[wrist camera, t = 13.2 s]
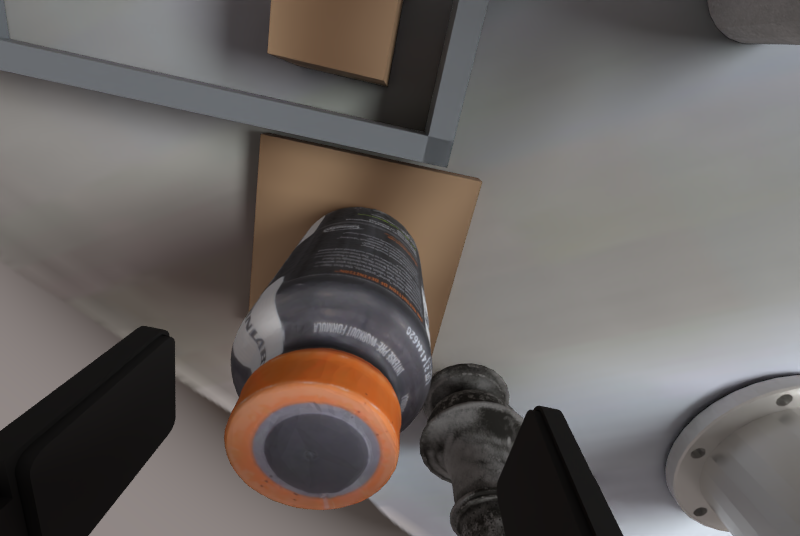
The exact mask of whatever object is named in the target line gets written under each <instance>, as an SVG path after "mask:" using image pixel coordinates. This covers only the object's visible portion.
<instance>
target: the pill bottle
mask: <svg viewBox="0 0 800 536" xmlns="http://www.w3.org/2000/svg"><path fill="white" fill-rule="evenodd" d="M231 371H232V378H233V382H234V386H235V389H236V392H237V394H238V396H239V399H238V401H237V403H236V405H235V407H234V409H233V411H232V413H231V415H230V417H229V420H228V423H227V425H226V428H225V435H224V441H225V449H226V453H227V456H228V459H229V461H230V464H231V465H232V467H233V469H234V470H235V471H236V473H237V474H238V475H239V477H240V478H241V479H242V480H243V481H244V482H245V483H246V484H247V485H248V486H249V487H251V488H252V489H254V490H256V491H257V492H258V493H260V494H262V495H264V496H266V497H267V498H269V499H271V500H273V501H276V502H279V503H282V504H285V505H288V506H292V507H296V508H303V509H312V510H328V509H337V508H342V507H346V506H349V505H352V504H356V503H359V502H361V501H363V500H365V499H367V498H369V497H370V496H372V495H373V494H374V493H376V492H378V491H379V490H380V489H381V488H382V487H383V486H384V485H385V484H386V483H387V481H388V480H389V479H390V477H391V475H392V474H393V472H394V470H395V469H396V465H397V461H398V456H399V440H400V433H401V432H402V431H403V430H404V429H405V428H406V427H407V426H408V425H409V424H410V423H411V422H412V421H413V420H414V418H415V417H416V416H417V414H418V413H419V411H420V410H421V408H422V407H423V404H424V402H425V401H426V398H427V395H428V392H429V389H430V385H431V379H432V356H431V346H430V332H429V320H428V313H427V306H426V299H425V293H424V285H423V277H422V269H421V262H420V257H419V252H418V249H417V246H416V244H415V241H414V239H413V238H412V236H411V235H410V234H409V232H408V231H407V230H406V228H405V227H404V226H403V225H402V224H401V223H399V222H398V221H397V220H396V219H394V218H393V217H391V216H390V215H388V214H386V213H384V212H381V211H379V210H376V209H370V208H364V207H348V208H342V209H338V210H335V211H332V212H330V213H328V214H326V215H325V216H323V217H322V218H320V219H319V220H318V221H317V222H316V223H314V224H313V225H312V226H311V227H310V229H309V230H308V231H307V232H306V234H305V235H304V237H303V238H302V239H301V241H300V242H299V244H298V245H297V246H296V248H295V249H294V250H293V252H292V253H291V254H290V256H289V257H288V259H287V260H286V261H285V263H284V264H283V266H282V267H281V268H280V270H279V271H278V273H277V274H276V275H275V277H274V278H273V279H272V281H271V282H270V283H269V285H268V286H267V287H266V288H265V290H264V291H263V293H262V294H261V295H260V297H259V299H258V300H257V302H256V303H255V304H254V306H253V307H252V308H251V310H250V311H249V313H248V314H247V316H246V317H245V319H244V320H243V322H242V324H241V326H240V328H239V330H238V332H237V335H236V337H235V341H234V343H233V347H232V353H231Z"/></svg>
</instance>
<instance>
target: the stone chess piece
mask: <svg viewBox="0 0 800 536" xmlns="http://www.w3.org/2000/svg"><path fill="white" fill-rule="evenodd" d="M508 404H509V392H508V388H507V385H506V383H505V382H504V380H503V379H502V377H501V376H500V375H498V374H497V373H496V372H495V371H494V370H492V369H489V368H487V367H485V366H482V365H477V364H459V365H455V366H451V367H448V368H446V369H444V370H442V371H440V372H438V373H437V374H436V375H435V376H434V377H432V379H431V385H430V389H429V392H428V395H427V398H426V401H425V402H424V404H423V409H424V412H425V414H426V416H427V417H428V418H429V419H428V421H427V424H426V427H425V428H424V430H423V433H422V436H421V439H420V454H421V456H422V459H423V462H424V464H425V465H426V466H427V467H428V469H429V470H430V471H431V472H432V473H434V474H435V475H436V476H438V477H439V478H441V479H442V480H445V481H447V482H450V483H452V486H453V493H454V501H455V505H454V506H453V508H452V511H451V513H450V523H451V526H452V529H453V531H454V532H455V533H456V534H457V535H458V536H505V532H504V528H503V523H502V518H501V513H500V508H499V504H498V499H497V482H498V479H499V477H500V474H501V472H502V470H503V467H504V465H505V463H506V460H507V458H508V456H509V453H510V451H511V448H512V446H513V444H514V441H515V439H516V437H517V434H518V432H519V430H520V427H521V425H522V423H523V420H524V419H523V418H522V417H521V416H520V415H519V414H517V413H516V412H515V411H514V410H513V408H511V407H510V406H509V405H508Z"/></svg>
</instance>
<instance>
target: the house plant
mask: <svg viewBox="0 0 800 536" xmlns="http://www.w3.org/2000/svg"><path fill="white" fill-rule="evenodd" d="M707 2H708V7H709V12H710V15H711V17H712V19H713V21H714V23H715V25H716V26H717V28H718V29H719V30H720V31H721V32H722V33H723V34H725V35H726V36H727V37H728V38H730V39H733V40H735V41H738V42H740V43H750V44H789V45H800V0H707Z"/></svg>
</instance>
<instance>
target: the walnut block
mask: <svg viewBox="0 0 800 536" xmlns="http://www.w3.org/2000/svg"><path fill="white" fill-rule="evenodd" d="M402 5H403V0H271V10H270V24H269V39H268V54H271V55H273V56H276V57H278V58H280V59H283V60H285V61H288V62H290V63H292V64H295V65H297V66H301V67H306V68H310V69H314V70H318V71H323V72H327V73H331V74H335V75H340V76H344V77H348V78H352V79H357V80H361V81H365V82H369V83H374V84H378V85H382V86H387V87H388V82H389V77H390V71H391V66H392V60H393V55H394V49H395V44H396V38H397V33H398V27H399V22H400V16H401V11H402Z"/></svg>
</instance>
